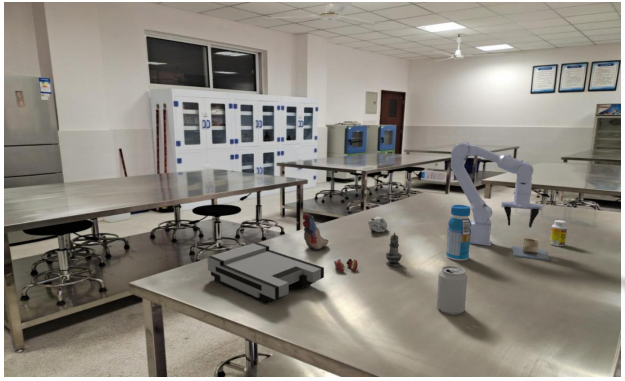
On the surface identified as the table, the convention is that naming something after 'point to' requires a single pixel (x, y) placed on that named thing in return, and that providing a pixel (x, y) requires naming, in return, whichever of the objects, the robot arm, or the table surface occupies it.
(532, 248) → the sleeve
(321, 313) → the table surface
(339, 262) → the pair of red halves
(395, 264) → the stone pagoda statue
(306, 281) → the game console
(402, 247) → the table surface
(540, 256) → the pin plate
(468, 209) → the beverage bottle
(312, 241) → the rooster figurine
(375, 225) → the grey lumpy stone
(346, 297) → the table surface
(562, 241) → the supplement bottle
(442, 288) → the can
